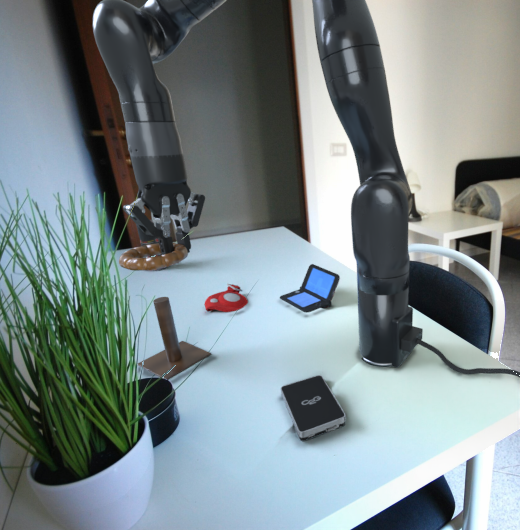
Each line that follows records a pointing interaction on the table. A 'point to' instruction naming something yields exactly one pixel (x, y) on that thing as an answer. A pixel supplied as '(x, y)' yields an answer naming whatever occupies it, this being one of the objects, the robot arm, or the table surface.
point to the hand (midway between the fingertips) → (177, 254)
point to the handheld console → (314, 290)
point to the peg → (171, 346)
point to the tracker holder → (226, 300)
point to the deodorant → (147, 240)
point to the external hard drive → (312, 407)
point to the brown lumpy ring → (138, 262)
